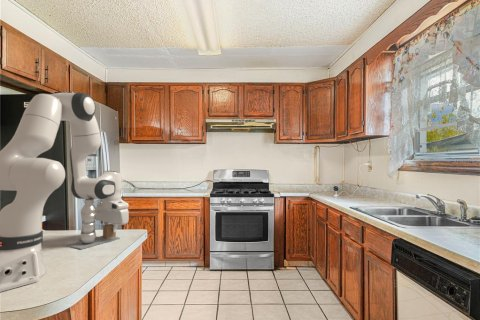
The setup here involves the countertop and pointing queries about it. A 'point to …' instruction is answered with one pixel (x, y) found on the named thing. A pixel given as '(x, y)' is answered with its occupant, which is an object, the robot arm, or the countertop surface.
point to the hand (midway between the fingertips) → (110, 231)
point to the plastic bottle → (88, 222)
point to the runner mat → (98, 238)
